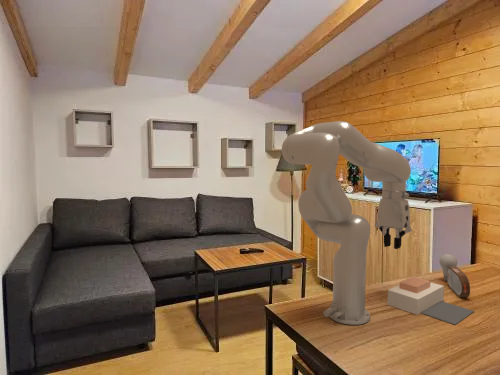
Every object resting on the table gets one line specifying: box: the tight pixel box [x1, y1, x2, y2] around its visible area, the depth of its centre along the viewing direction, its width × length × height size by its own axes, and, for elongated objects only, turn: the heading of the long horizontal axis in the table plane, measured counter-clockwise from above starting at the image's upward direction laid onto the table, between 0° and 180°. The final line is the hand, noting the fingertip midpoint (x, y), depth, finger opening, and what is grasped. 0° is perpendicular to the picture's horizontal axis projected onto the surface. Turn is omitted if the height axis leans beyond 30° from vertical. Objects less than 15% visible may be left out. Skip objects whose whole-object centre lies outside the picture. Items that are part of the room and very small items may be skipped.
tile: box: [398, 276, 432, 293], centre depth 117 cm, size 9×6×2 cm, turn 128°
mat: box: [420, 300, 475, 326], centre depth 109 cm, size 14×10×1 cm
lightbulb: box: [438, 253, 458, 283], centre depth 136 cm, size 6×6×11 cm
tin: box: [446, 266, 471, 299], centre depth 125 cm, size 15×3×8 cm, turn 168°
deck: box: [387, 282, 445, 316], centre depth 117 cm, size 18×10×5 cm, turn 128°
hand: (392, 246), depth 123 cm, fingers open, 3 cm apart
